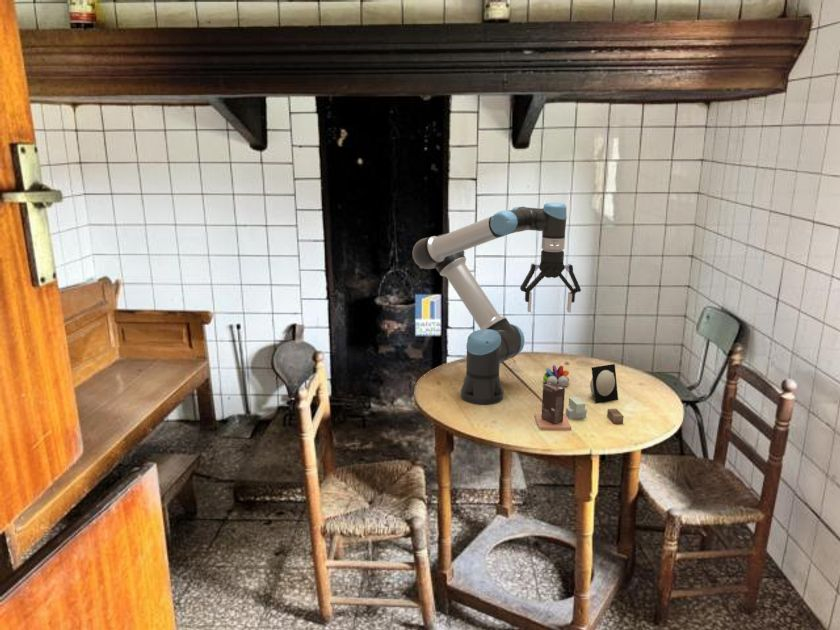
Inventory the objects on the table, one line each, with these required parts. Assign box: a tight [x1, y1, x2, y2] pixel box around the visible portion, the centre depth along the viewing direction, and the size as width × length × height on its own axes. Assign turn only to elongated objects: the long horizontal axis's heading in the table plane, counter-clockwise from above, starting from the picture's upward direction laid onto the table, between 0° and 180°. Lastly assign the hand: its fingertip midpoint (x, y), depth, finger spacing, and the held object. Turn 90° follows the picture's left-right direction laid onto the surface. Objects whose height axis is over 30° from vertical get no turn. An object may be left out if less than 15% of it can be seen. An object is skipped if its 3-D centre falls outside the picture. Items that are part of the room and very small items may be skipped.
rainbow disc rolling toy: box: [542, 364, 570, 388], centre depth 240 cm, size 8×10×7 cm
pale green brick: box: [567, 396, 586, 413], centre depth 210 cm, size 6×3×3 cm, turn 11°
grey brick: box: [565, 406, 588, 420], centre depth 211 cm, size 6×3×3 cm, turn 101°
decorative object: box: [589, 363, 619, 405], centre depth 226 cm, size 13×10×10 cm
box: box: [541, 382, 566, 425], centre depth 204 cm, size 6×4×12 cm
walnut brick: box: [606, 408, 625, 425], centre depth 209 cm, size 6×3×3 cm, turn 5°
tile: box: [534, 413, 572, 431], centre depth 206 cm, size 10×10×1 cm
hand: (548, 311), depth 219 cm, fingers open, 13 cm apart
